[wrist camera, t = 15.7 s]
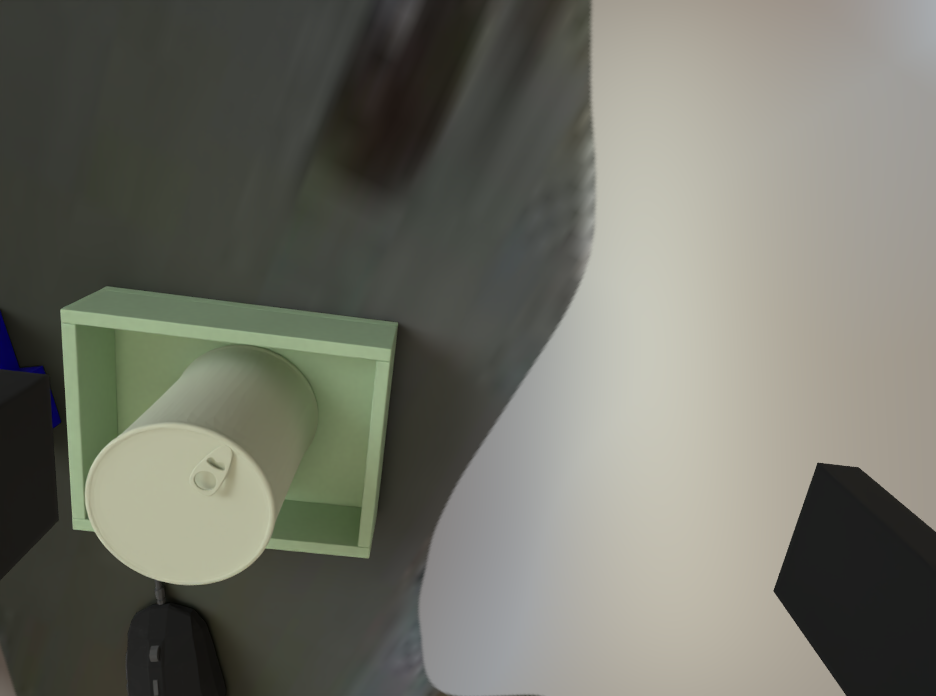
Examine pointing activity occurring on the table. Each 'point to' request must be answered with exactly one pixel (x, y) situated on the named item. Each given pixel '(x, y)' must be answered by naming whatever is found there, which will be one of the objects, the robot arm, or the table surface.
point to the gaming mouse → (171, 652)
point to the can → (204, 468)
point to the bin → (230, 323)
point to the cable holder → (4, 358)
